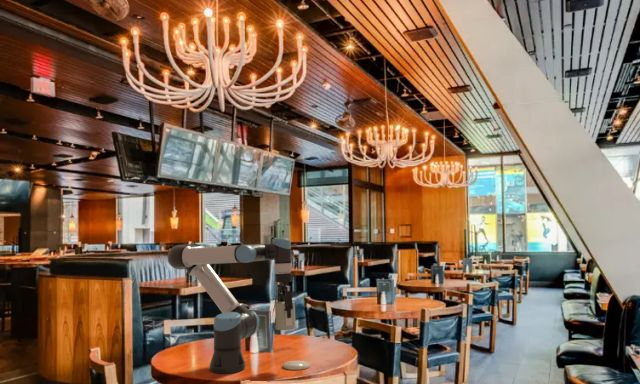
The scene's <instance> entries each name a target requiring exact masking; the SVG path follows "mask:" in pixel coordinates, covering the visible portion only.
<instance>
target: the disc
mask: <svg viewBox="0 0 640 384" xmlns="http://www.w3.org/2000/svg"><path fill="white" fill-rule="evenodd" d="M282 368H283V369H285V370H288V371H289V370H290V371H302V369H303V370H307V369H309V368H311V362H309V361H306V360H289V361H285V362H284V363H282Z"/></svg>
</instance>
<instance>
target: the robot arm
mask: <svg viewBox="0 0 640 384" xmlns="http://www.w3.org/2000/svg"><path fill="white" fill-rule="evenodd" d="M167 261H168V264H169V265H170V266H171V268H173V269H176V270H186V272H187V273H188V274H189V276H191V277H195V278H196V279H197V281H198V282H199V283H200V285H201V286H202V287H203V289H204V290H205V292H206V293H207V295H209V297H210V298H211V300H212V301H213V302H214V304H215V305H216V306H217V307H218V309H219V311H220V312H221V313H219V314H216V316H215V317H214V319H213V326H212V327H213V354H212V355H211V356H212V357H211V360H210V362H209V371H210V372H211V373H215V374H233V373H239V372H242V371H244V370H245V369H246V362H245V358H244V356H243V352H242V340H245V339H247V338H249V337H252V336H253V335H255V334H256V332H258V330H259V328H260V317H259V316H258V314H257V313H256V311H254V310H252V309H251V310H250V309H248V308H247V306H246V305H245V304H244V303H239V301H238V300H237V299H236V298H235V296H234V295H233V294H232V292H231V291H230V290H229V289H228V287H227V286H226V284H225V283H224V281H222V279H221V277H219V275H218V274H217V273H216V271H215V270H214V269H213V267H212V266H211V265H215V264H217V265H218V264H233V263H234V264H235V263H237V264H238V263H243V264H246V263H247V264H248V263H253V262H260V261H274V273H275V275H274V279H275V282H276V283H279V284H277V295H276V296H277V300H276V302H279V301H280V302H282V301H284V303H285V308H286V309H284V311H285V323H286V326H289V325H292V314H291V310H292V309H293V304H292V301H293V295H292V286H290V285H289V282H290V283H291V282H292V281H293V274H292V273H291V272H292V271H293V270H292V267H293V264H292V247H291V240H290V238H285V237H284V238H274V239H273V242H272V243H256V244H255V243H254V244H241V245H240V244H239V245H225V246H223V245H221V246H204V245H202V244H198V243H190V244H186V243H185V244H177V245H174V246H173V247H172V248H171V249H170V250H169V251H168V254H167Z"/></svg>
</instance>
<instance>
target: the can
mask: <svg viewBox="0 0 640 384" xmlns="http://www.w3.org/2000/svg"><path fill="white" fill-rule="evenodd" d="M292 304H293V309H292V310H291V314H292V325H289V326H286V323H285V311H284V309H286V308H285V303H284V301H282V302H280V301H279V302H277V301H275V302H274V312H275V315H274V316H275V317H274V318H275V320H274V321H275V327H274V328H275V330H277V331H289V330H295V329H297V324H296V301H295V300H292Z"/></svg>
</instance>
